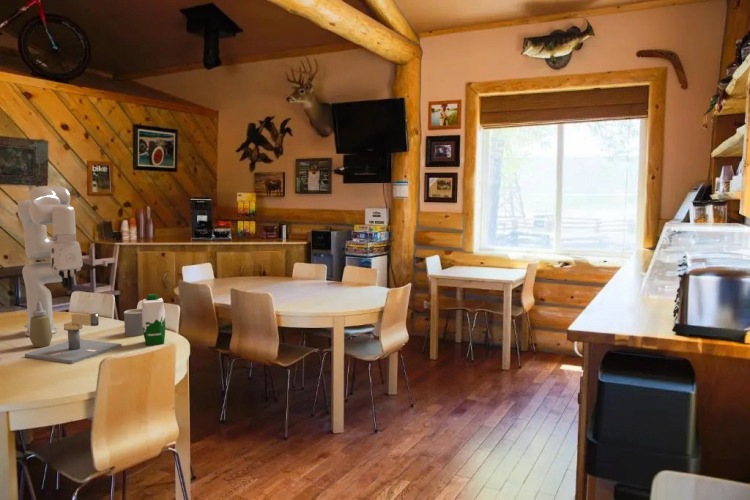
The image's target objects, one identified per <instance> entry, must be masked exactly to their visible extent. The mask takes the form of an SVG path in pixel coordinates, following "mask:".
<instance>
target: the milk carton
mask: <svg viewBox="0 0 750 500" xmlns="http://www.w3.org/2000/svg"><path fill="white" fill-rule="evenodd" d="M146 296H147V297H146V298H144V299H142V302H141V309H142V321H143V334H144V335H143V337H144V343H145V345H146V346H153V345H162V344H163V345H164V344H165V338H166V313H165V312H166V311H165V303H164V300H163V298H162V297H160V298H159V297H158V293H148V294H147V295H146Z"/></svg>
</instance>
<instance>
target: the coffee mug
mask: <svg viewBox="0 0 750 500" xmlns="http://www.w3.org/2000/svg"><path fill="white" fill-rule="evenodd" d="M123 319H124V320H123V322H124V335H125V336H126V335H127V337H140V336H144V334H143V321H142V308H134V309H127V310H125V311H124V312H123Z"/></svg>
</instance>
